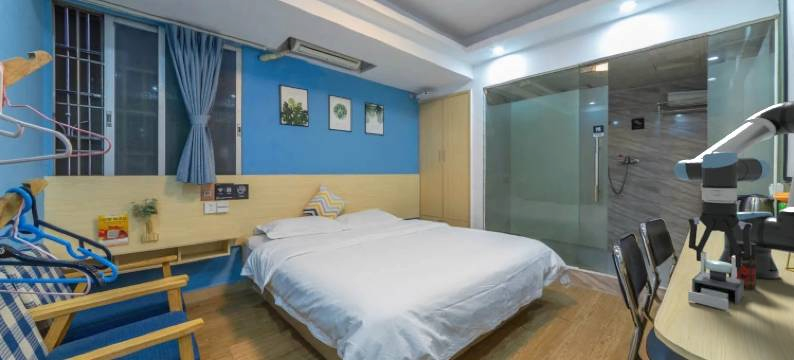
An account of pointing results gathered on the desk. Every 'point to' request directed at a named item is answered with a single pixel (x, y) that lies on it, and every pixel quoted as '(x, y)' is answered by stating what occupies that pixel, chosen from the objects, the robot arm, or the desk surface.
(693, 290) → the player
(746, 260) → the deodorant
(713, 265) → the pale blue flat dome
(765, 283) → the desk surface
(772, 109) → the robot arm
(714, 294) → the tray
